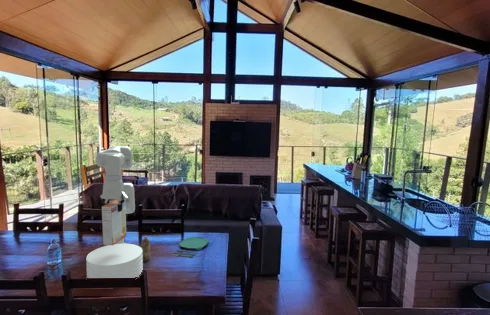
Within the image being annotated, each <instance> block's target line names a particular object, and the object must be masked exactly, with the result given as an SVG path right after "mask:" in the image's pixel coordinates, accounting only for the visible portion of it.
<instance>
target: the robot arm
mask: <svg viewBox="0 0 490 315" xmlns="http://www.w3.org/2000/svg"><path fill="white" fill-rule="evenodd" d="M95 161H96V162H95V163H96V165H97V166H98V167H102V168H103V169H104V170H105V171H104V172H105V174H104V175H103V178H105V180H104V181H103V185H102V193H101V194H100V196H99V197H100V199H101V200H102V201H103V202H104V205H106V204H108V203H110V202H112V201H115V200H117V201H118V203H119V204H118V212H120V211H122V209H123V206H122V204H123V203H124V202H125V207H126V215H128V214H132V213H135V210H136V204H135V203H136V202H135V201H136V200H135V187H134V184H133V183H132V182H123V176H122V170H129V169H131V168H132V166H133V151H132V148H131V147H129V146H127V145H125V146H123V145H121V146H120V145H119V146H118V145H117V146H111V147H108V149H106V150H100V151H98V152H97V154H96V157H95ZM116 244H127V242H126V241H125V237H124V238H123V239H121V240H120V241H118V242H117V243H116ZM106 246H108V245H106Z"/></svg>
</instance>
